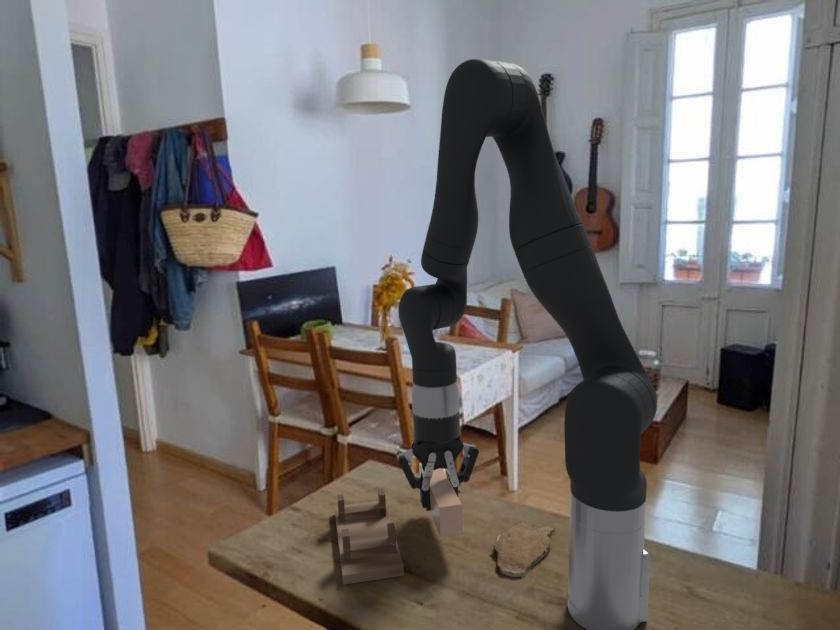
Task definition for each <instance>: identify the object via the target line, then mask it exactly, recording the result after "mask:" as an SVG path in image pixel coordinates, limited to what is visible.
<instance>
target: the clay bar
mask: <svg viewBox="0 0 840 630" xmlns="http://www.w3.org/2000/svg"><path fill="white" fill-rule="evenodd" d="M418 467H419V468H418V470H419V474H420V473H421V462H419V463H418ZM444 470H445V469H441V468H439V469H436V470H433V474H432V478H431V480H430V486H429V490H430V506H431V511H429V513H430V515H431V518H432V521H433V524H434V525H435V528H436V530H437V532H438V535H439V538H440V539H442V538H447V537H454V536H455V537H456V536H462V535H463V534H464V526H463V504H462V501H461V499H460V498H459V495H458V496H457V494H456V492H455V491H454V489H453V487H452V485H451V483H450V481H449V478H448V475H447V473H446V472H445V471H444Z"/></svg>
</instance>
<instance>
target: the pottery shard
mask: <svg viewBox="0 0 840 630" xmlns="http://www.w3.org/2000/svg"><path fill="white" fill-rule="evenodd" d="M555 530H556V527H555V526H554V525H553V526H552V525H548V524H547V525H546V524H538V523H535V522H530V521H527V520H524V519H521V520H520V521H519V523H518V524H517V523H516V524H515V525H514V526H512V527H509V529H507V530H506V531H505V532H502V533H500V534H499V535H497V537H496V538H495V542H494V543H493V544H492V545H493V546H492V547H493V548H494V550H495V552H496V556H497V558H496V559H497V560H496V561H497V563H496V566H497V567H498V570H499V572H500V574H501V575H504V576H507V577H512V578H521V579H522V578H524V577H525V576H526V575H527V574H528V573H529V572H530V571H531V570H532V569H533V568H534V567H535V565H536V564H537V563H539V562H540V561H541V560H542V559H543V558H544V557H546V555H547V554H548V552H549V551H550V550H551V546H552V540H551V539H552V537H553V536H554V535H555V533H556V531H555Z"/></svg>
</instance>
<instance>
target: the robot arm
mask: <svg viewBox="0 0 840 630" xmlns="http://www.w3.org/2000/svg"><path fill="white" fill-rule="evenodd" d="M541 104H542V103H541V101H540V98H539V95H538V91H537V88H536V85H535V83H534V81H533V79H532V78H531V76H530V74H529V73H528V72H527V71H526V70H525V69H524V68H523V67H520V66H519V65H517V64H515V63H512V62H507V61H506V62H505V61H499V60H492V59H482V58H472V59H470V58H469V59H467V60H465V61H463V62H462V63H460V64H458V65H457V67H456V68H455V69H454V70H452V72H451V75H450V76H449V78H448V81H447V83H446V86H445V91H444V96H443V102H442V112H441V119H440V121H441V122H440V133H439V146H438V158H437V169H436V172H437V173H436V182H435V190H434V191H435V192H434V200H433V206H432V211H431V216H430V221H429V224H428V227H427V232H426V235H425V241H424V244H423V248H422V252H421V253H422V254H421V258H420V265H421V267H422V270H423V271H424V273H425V274H427V275H429V276H431V277H433V278H436V282H435V283H431V284H426V285H420V286H413V287H410V288H407V289H406V290H405V291H404V292H403V294H401V297H400V299H399V303H398V307H397V310H398V319H399V322H400V326H401V327H402V328H401V329H402V331H403V334H404V336H405V340H406V343H407V346H408V347H407V348H408V350H409V353H410V356H411V357H410V358H411V369H412V390H411V391H412V392H411V408H412V409H411V410H412V420H413V421H412V427H413V442H412V444H411V446H410V447H411V448H410V449H407V450H406V451H404V452H403V451H401V450H400V451H398V452H397V453H396V455H395V456H396V458H397V461H398V463H399V465H400V468H401V469H402V471H403V474H404V475H405V478H406V479H407V481H408V482H407V483H408V484H409V486H410V488H411V489H413V490H416V489H419V499H420V504H421V506H422V508H423V509H425V510H426V512H430V511H431V506H430V490H429V486H430V480H431V478H432V474H433V470H436V469H439V468H441V469H443V470H445V471H446V476H447V478H448V479H449V481H450V483H451V485H452V487H453V489H454V491H455V492H456V494H457V496H458V497H459V485H460V484H462V483H463V482H464V483H468V482H469V481H470V479H471V475H472V474H473V473H472V472H473V470H474V467H475V464H476V462H477V459H478V456H479V454H480V451H479V448H478V447H477V445H475V443H473V442H470V443H466V442H464V441H463V440H462V439H461V419H460V418H461V417H460V413H461V412H460V393H459V385H458V381H457V380H458V375H457V371H458V370H457V368H458V367H457V354H456V350H455V348H454V346H453V345H452V344H450V343H446V342H442V341H436V340H435V336H434V331H435V330H440V329H445V328H448V327H449V328H450V327H452V326H454V325H457V324H458V323H459V322H460V321H461V319H462V318H463V316H464V314H465V312H466V309H467V306H468V305H467V304H468V265H469V262H470V258H471V256H472V252H473V249H474V245H475V243H476V239H477V235H478V228H479V208H478V201H477V193H476V185H475V184H476V183H475V182H476V179H475V178H476V177H475V176H476V168H477V164H478V163H477V162H478V159H479V155H480V153H481V150H482V147H483V145H484V142H485V140H486V138H489V137H490V138H492V139H493V140H494V142H495V144H496V145H497V147H498V149H499V152H500V155H501V157H502V160H503V162H504V165H505V168H506V171H507V173H508V179H509V184H510V185H509V186H510V199H509V213H508V228H509V229H508V232H509V238H510V242H511V247H512V250H513V252H514V255H515V256H516V260H517V262H518V265H519V267H520V270H521V272H522V273H521V274H523V278H524V279H525V282H526V283H527V285H528V288H529V289H530V292H531V293H532V294H533V295H534V297H535V298H536V299H537V301H538V302H539V304H540V305H541V306H542V307H543V308H544V310H546V312H547V313H548V314H549V315H550V316H551V317H552V319H553V320H554V321H555V322H556V323H557V325H558V326H559V327H560V328H561V330H562V331H563V332H564V334H565V336H566V338H567V340H568V341H569V343H570V345H571V347H572V350H573V352H574V354H575V357H576V360H577V363H578V366H579V369H580V372H581V375H582V379H583V380H581V381H580V382H578V383H577V384H576V385H575V386H574V387H572V389H571V390H570V392H569V395H568V397H567V399H566V403H565V410H564V425H563V426H564V462H565V470H566V472H567V475H568V477H569V480H570V481H569V482H570V487H569V488H570V491H569V492H570V493H569V495H570V496H569V534H568V535H569V536H568V537H569V538H568V541H569V542H568V572H567V573H568V576H567V577H568V580H567V581H568V582H567V610H568V613H569V615H570V617H571V618H572V619H573V620H574V622H576V623H577V624H578V625H579V626H580V627H581V628H583V629H586V630H636V629H637V628H638V626H639V625H640V623H644V622H647V621H648V607H649V606H648V605H649V587H650V585H649V584H650V569H651V568H650V567H651V556H650V554H649V552H648V551H647V550H646V549H645V547H644V546H645V530H646V529H645V527H646V506H647V505H646V504H647V491H648V489H647V487H648V482H647V477H646V475H645V474H644V472H643V471H641V468H640V467H641V466H640V465H641V438H642V434H643V433H644V432H645V431H646V430H647V428H649V426H650V425H651V424H652V423H653V421H654V420H655V419H654V418H655V416H656V414H657V408H658V397H657V394H656V390H655V388H654V385H653V383H652V380H651V379H650V376H649V375H648V373H647V371H646V369H645V367H644V364H642V362H641V360H640V358H639V355H638V354H637V353H636V350H635V349H634V346H633V345H632V343H631V341H630V339H629V336H628V335H627V333H626V331H625V329H624V326H623V325H622V322H621V320H620V317H619V315H618V312H617V309H616V306H615V303H614V300H613V298H612V295H611V293H610V290H609V287H608V284H607V283H606V280H605V278H604V275H603V272H602V270H601V267H600V264H599V262H598V259H597V255H596V253H595V250H594V247H593V245H592V242H591V240H590V237H589V234H588V232H587V229H586V227H585V225H584V222H583V221H582V218H581V216H580V214H579V211H578V209H577V207H576V204H575V202H574V199H573V197H572V195H571V192H570V188H569V186H568V184H567V181H566V179H565V176H564V174H563V171H562V168H561V166H560V164H559V161H558V158H557V156H556V153H555V150H554V148H553V144H552V140H551V137H550V134H549V130H548V125H547V123H546V118H545V116H544V111H543V109H542V105H541ZM461 453H462V455H463V459H462V462H461V464H460V467H459V470H458V472H457V468H456V466H455V465H456V464H455V462H456V460H457V458H458V457H459V456H460V454H461ZM413 457H415V458H416V459H417V460H418V462H419V463H421V473H419V477H416V476H415V474H414V473H413V470H412V468H411V465H413Z"/></svg>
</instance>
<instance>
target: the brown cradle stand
mask: <svg viewBox="0 0 840 630" xmlns="http://www.w3.org/2000/svg"><path fill="white" fill-rule="evenodd" d="M377 495H378V496H377V499H378V500H372V501H367V502H360V503H351V504H345V497H344V494H343V493H341V494H337V497H336V498H337V505H336V506H335V505H334V517H335V524H336V535H337V542H338V552H339V553H338V554H339V559H340V561H339V562H340V568H341V576H342V577H341V578H342V585H344V586H345V585H350V584H357V583H363V582H369V581H377V580H383V579H389V578H396V577H402V576H405V566H404V563H403V559H402V556H401V555H402V554H401V552H400V548H399V546H398V542H397V531H396V526H395V523H394V522H392V521H391V518H390V515H389V511H388V508H387V502H386V493H385V489H383V488H382V489H377Z"/></svg>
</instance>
